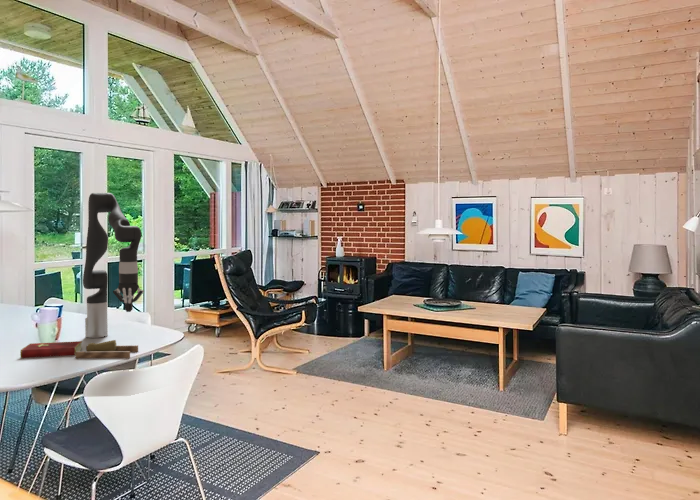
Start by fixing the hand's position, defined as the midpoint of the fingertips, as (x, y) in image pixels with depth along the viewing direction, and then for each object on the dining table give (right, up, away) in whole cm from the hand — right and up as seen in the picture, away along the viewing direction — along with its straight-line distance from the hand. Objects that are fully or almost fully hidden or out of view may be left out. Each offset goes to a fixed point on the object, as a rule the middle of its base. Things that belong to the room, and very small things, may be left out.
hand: (128, 311), depth 220 cm
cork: (-7, -16, +2) cm, 17 cm away
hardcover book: (-34, -19, +1) cm, 39 cm away
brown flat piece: (-9, -19, 0) cm, 21 cm away
